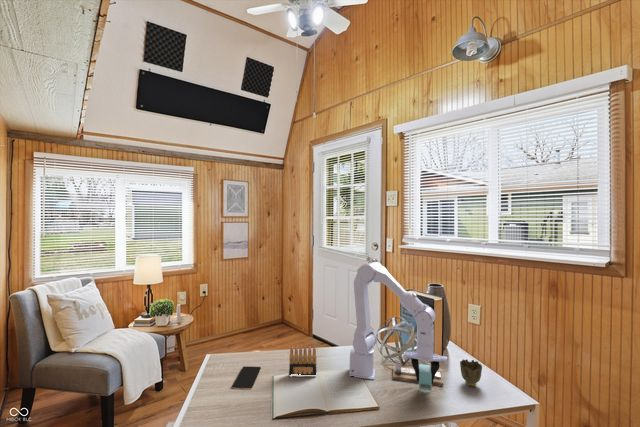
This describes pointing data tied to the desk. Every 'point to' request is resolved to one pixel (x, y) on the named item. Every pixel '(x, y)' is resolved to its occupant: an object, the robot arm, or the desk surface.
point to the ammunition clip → (302, 361)
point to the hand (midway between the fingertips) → (424, 381)
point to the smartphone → (246, 378)
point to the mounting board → (413, 377)
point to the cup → (471, 372)
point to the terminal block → (425, 377)
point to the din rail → (410, 371)
